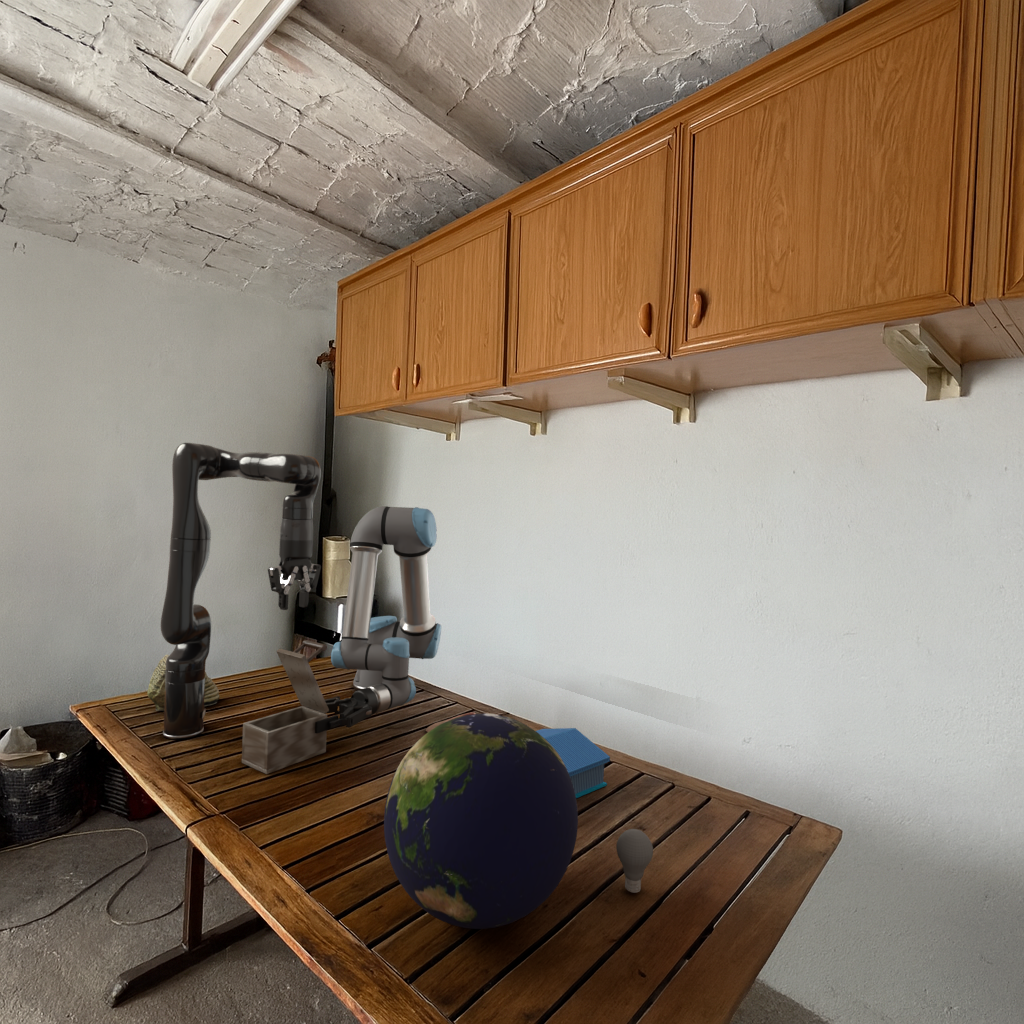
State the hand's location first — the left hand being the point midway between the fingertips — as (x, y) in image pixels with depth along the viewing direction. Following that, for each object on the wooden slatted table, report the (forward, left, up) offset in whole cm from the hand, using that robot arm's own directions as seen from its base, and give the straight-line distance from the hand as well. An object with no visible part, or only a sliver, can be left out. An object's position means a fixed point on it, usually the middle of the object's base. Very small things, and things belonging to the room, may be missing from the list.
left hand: (293, 607), depth 153 cm
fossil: (-52, -9, -36) cm, 64 cm away
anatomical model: (+10, +42, -36) cm, 56 cm away
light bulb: (+86, +21, -36) cm, 96 cm away
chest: (0, -1, -36) cm, 36 cm away
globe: (+73, -2, -36) cm, 82 cm away
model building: (+49, +30, -36) cm, 68 cm away
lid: (-1, +3, -19) cm, 19 cm away
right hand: (-1, +4, -29) cm, 29 cm away
